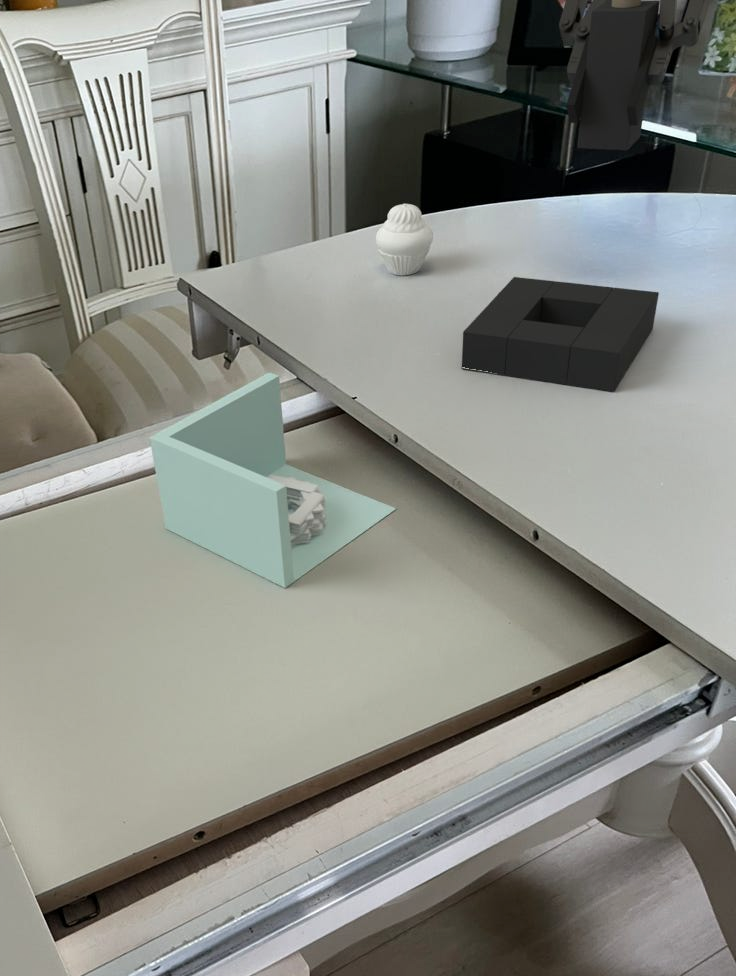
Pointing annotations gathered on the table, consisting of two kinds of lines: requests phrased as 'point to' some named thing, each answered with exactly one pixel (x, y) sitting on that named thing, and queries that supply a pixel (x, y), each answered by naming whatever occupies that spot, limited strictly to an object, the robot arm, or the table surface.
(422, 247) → the muffin
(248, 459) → the right angle wall
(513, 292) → the base pad
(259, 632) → the table surface
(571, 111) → the robot arm
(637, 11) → the pad post
